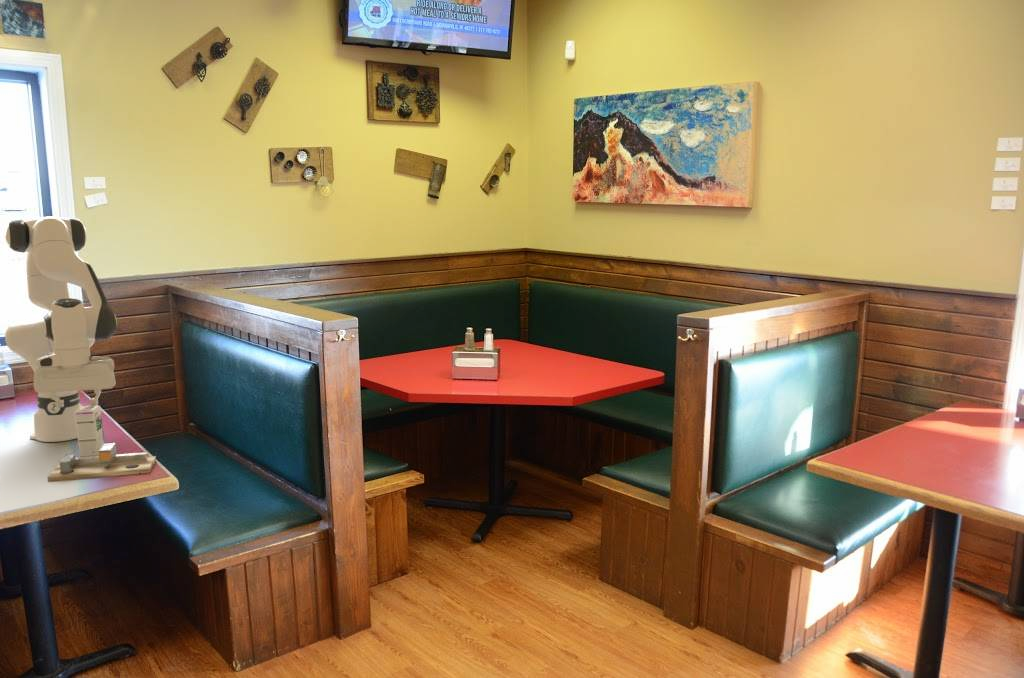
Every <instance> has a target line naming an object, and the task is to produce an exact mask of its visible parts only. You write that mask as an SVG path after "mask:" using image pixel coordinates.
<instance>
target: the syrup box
mask: <svg viewBox="0 0 1024 678" xmlns="http://www.w3.org/2000/svg"><path fill="white" fill-rule="evenodd" d="M82 406H83V407H81V408H79V409H78V410H76V411H75V412H74V413H75V421H76V430H77V438H76V439H77V445H78V452H79V457H91V456H99V450H100V449H101V447H102V446H103V445H104V444H106V443H105V435H104V427H103V426H104V425H103V419H102V408H101V405H85V406H84V405H82Z"/></svg>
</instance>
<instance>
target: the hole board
mask: <svg viewBox="0 0 1024 678" xmlns="http://www.w3.org/2000/svg"><path fill="white" fill-rule="evenodd" d="M155 460H156V461H157V456H156V455H152V456H147V460H146V461H137V462H125V463H112V464H110V468H105V464H100V465H87V466H76V467H75V468H74V469H73V470H72V471H71V473H65V474H61V472H60V463H58V465H57V466H56V467H55V468H54V469H53V471H51V473H50V474H48V475H47V482H55V481H66V480H67V481H68V480H79V479H90V478H93V479H94V478H103V477H104V478H105V477H115V476H125V475H126V476H129V475H138V474H139V473H141V474H150V473H149V472H151V471H152V469H153V467H154V465H155V463H156V461H155ZM153 464H154V465H153ZM152 466H153V467H152ZM151 468H152V469H151ZM150 470H151V471H150ZM139 475H140V474H139Z"/></svg>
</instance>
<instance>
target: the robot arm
mask: <svg viewBox="0 0 1024 678" xmlns="http://www.w3.org/2000/svg"><path fill="white" fill-rule="evenodd" d="M4 238H5V241H6V243H7V244H8V247H9V248H10V249H11V250H12V251H14V252H16V253H17V252H18V253H25V252H27V254H26V281H27V292H28V299H29V300H30V302H31V303H32V304H33V305H34V306H35V305H36V306H37V307H39V308H42V309H43V310H47V311H48V312H47V313H46V314H45V315H44V316H43V318H42V319H41V318H39V319H36V318H35V319H25V320H20V321H17V322H13V323H11V324H10V325H9V326H8V327H7V329H6V330H5V334H4V340H5V343H6V346H7V347H8V348H9V350H11V352H13V353H14V354H16V355H19V356H20V357H21V358H22V359H24V360H25V361H26V362H27V364H28V365H29V366H30V368H31V369H32V371H33V373H34V374H33V389H34V391H35V392H36V393H37V396H36V403H37V407H38V409H37V410H36V411H35V412H34V413H33V426H34V427H33V428H34V430H33V431H34V432H33V433H32V434H30V435H29V439H30V440H36V441H39V442H44V443H45V442H47V443H55V442H65V441H70V440H71V441H72V440H75V439H78V438H77V430H76V421H75V413H74V412H75V411H76V410H78V409H79V408H81V407H83V406H84V405H82V404H81V400H80V391H94V392H93V393H94V394H95V396H94V397H92V398H91V399H90V402H91V403H90V406H93V405H95V406H99V405H98V404H99V397H100V395H101V393H102V390H108V389H109V390H111V389H113V388H114V387H115V385H116V384H117V383H116V382H117V381H116V377H115V372H114V370H115V367H116V366H115V360H114V359H113V358H111V357H109V356H107V355H103V356H102V355H101V356H98V355H95V356H93V355H91V348H92V346H93V345H94V344H95V343H96V341H108V340H109V339H110V338H112V337H113V336H114V335H115V334H116V332H117V331H118V321H117V320H118V319H117V316H116V314H115V312H114V310H113V309H112V307H111V305H110V304H109V301H108V300H107V297H106V295H105V293H104V290H103V287H102V286H101V283H100V281H99V279H98V276H97V275H96V273H95V270H94V268H93V267H92V265H91V264H90V263H89V262H87V261H85V260H83V259H82V258H81V257H79V256H78V254H77V252H78V251H81V250H82V249H83V248H84V247H85V246H86V241H87V238H88V233H87V229H86V227H85V225H84V223H83V222H82V221H81V219H78V218H76V217H75V218H73V217H68V218H67V217H59V216H44V217H43V216H41V217H40V216H39V217H27V218H26V217H25V218H23V217H18V218H13V219H10V220H9V221H8V222H7V225H6V227H5V231H4ZM68 284H71V285H73V286H74V285H75V286H77V287H80V288H81V289H83V291H84V293H85V294H86V296H87V298H88V300H89V303H90V305H91V306H84V302H83V301H82V300H80V299H78V298H70V293H69V287H68Z"/></svg>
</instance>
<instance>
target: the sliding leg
mask: <svg viewBox="0 0 1024 678" xmlns="http://www.w3.org/2000/svg"><path fill="white" fill-rule="evenodd" d="M116 445H117V444H116V442H112V443H111V442H110V443H109V442H108V443H105V444H104V445H103V446H102V447H101V449H100V450H99V461H100V463H104V462H105V468H110V464H109V462H112V460H113V459H114V457H115V456H116V455H117V446H116Z"/></svg>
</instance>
